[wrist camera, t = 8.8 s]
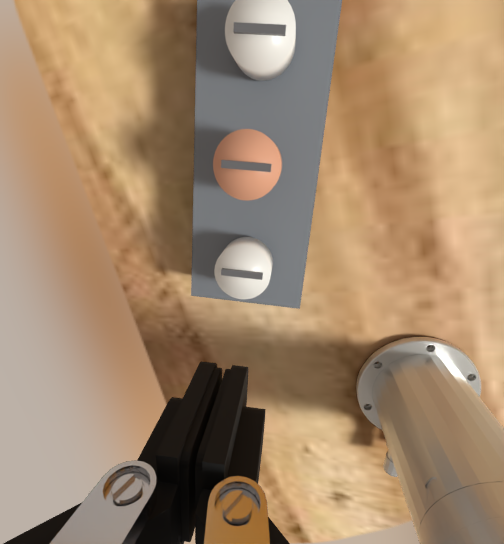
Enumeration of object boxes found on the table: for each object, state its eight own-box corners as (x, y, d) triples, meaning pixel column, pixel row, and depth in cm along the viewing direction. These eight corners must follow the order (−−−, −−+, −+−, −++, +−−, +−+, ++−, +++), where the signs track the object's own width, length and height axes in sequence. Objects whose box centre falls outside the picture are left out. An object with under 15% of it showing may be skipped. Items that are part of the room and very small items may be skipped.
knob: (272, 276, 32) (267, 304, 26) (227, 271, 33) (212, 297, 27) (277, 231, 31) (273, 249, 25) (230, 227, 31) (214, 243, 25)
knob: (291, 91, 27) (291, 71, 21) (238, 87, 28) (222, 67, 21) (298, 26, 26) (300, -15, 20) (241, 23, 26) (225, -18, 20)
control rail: (298, 288, 35) (299, 308, 30) (204, 277, 36) (191, 295, 31) (335, 12, 27) (344, -18, 22) (213, 7, 28) (197, -24, 23)
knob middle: (280, 194, 28) (277, 204, 22) (228, 189, 28) (210, 197, 22) (286, 137, 27) (284, 131, 20) (231, 133, 27) (213, 125, 21)
